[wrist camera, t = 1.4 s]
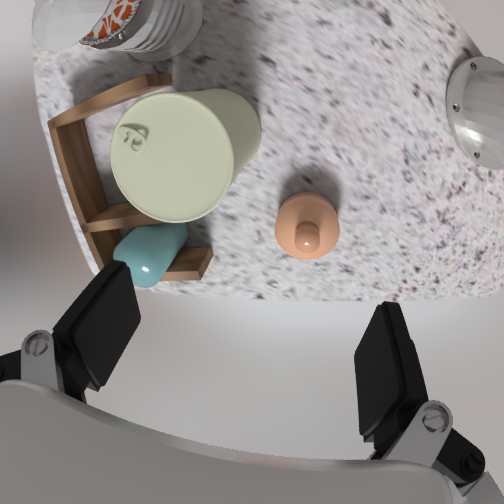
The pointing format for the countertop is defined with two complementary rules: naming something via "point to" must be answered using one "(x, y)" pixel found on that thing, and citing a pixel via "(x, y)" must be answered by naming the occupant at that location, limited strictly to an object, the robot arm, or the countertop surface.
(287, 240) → the lid
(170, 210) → the can
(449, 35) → the countertop surface
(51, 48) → the french press
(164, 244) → the jar
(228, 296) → the countertop surface
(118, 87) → the caddy
